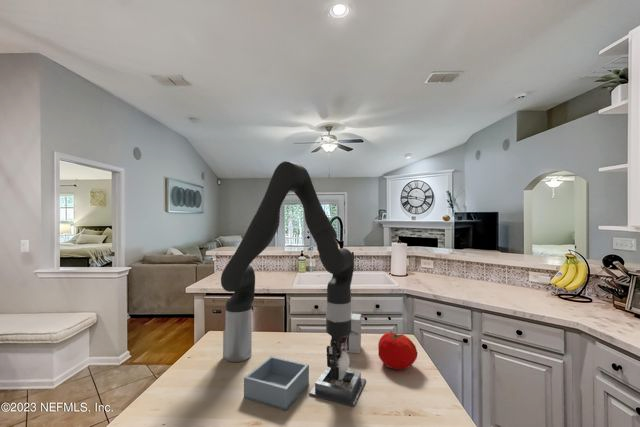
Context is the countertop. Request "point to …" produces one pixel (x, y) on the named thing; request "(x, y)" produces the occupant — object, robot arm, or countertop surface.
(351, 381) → the dark grey square frame
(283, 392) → the bin
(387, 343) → the tomato
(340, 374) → the lightbulb
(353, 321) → the supplement box
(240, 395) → the countertop surface
